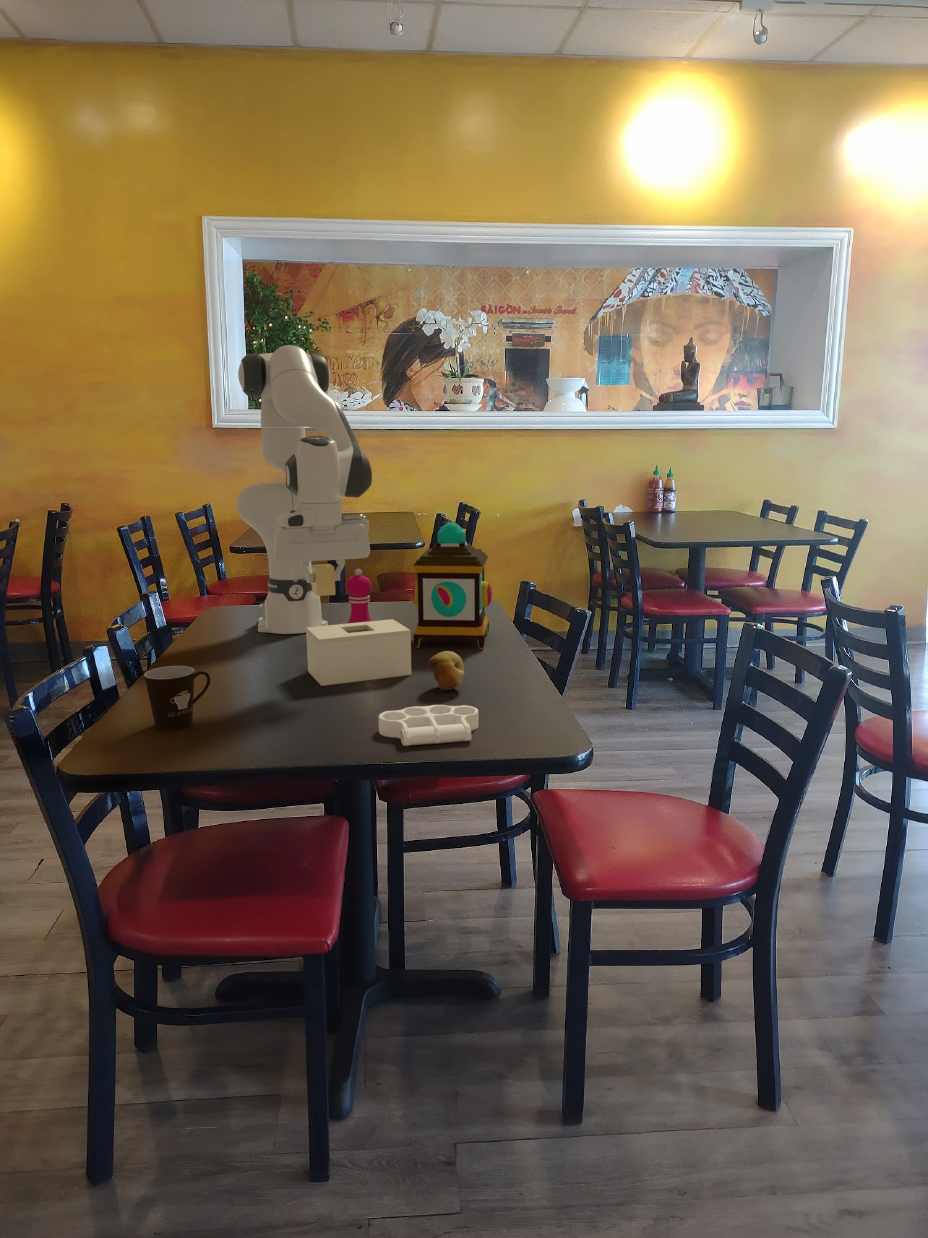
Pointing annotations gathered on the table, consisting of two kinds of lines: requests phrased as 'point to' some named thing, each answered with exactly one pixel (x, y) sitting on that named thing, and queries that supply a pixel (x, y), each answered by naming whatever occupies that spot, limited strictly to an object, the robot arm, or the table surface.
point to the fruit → (447, 669)
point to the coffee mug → (172, 696)
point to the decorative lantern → (451, 589)
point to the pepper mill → (359, 597)
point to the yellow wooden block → (323, 580)
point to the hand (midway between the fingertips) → (323, 581)
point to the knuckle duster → (429, 724)
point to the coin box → (358, 651)
